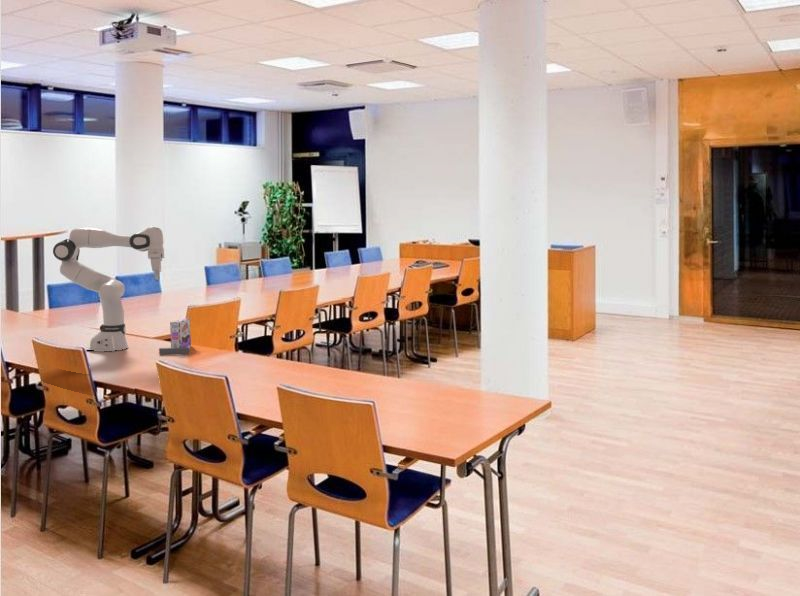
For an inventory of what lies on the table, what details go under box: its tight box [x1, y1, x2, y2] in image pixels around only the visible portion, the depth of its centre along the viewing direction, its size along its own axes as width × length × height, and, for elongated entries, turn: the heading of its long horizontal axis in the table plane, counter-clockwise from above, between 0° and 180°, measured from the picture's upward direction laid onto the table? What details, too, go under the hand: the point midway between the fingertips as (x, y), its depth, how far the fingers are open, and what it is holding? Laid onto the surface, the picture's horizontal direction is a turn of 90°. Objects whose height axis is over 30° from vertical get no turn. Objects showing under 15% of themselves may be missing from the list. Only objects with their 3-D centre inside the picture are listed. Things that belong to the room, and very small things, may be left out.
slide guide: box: [158, 344, 192, 355], centre depth 417 cm, size 16×19×4 cm
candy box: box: [169, 318, 192, 348], centre depth 425 cm, size 14×6×16 cm, turn 170°
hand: (157, 279), depth 421 cm, fingers open, 8 cm apart
